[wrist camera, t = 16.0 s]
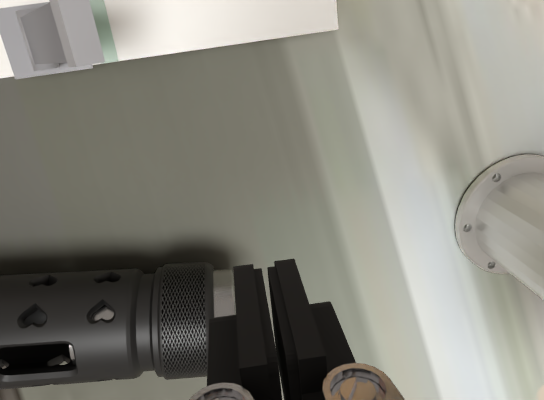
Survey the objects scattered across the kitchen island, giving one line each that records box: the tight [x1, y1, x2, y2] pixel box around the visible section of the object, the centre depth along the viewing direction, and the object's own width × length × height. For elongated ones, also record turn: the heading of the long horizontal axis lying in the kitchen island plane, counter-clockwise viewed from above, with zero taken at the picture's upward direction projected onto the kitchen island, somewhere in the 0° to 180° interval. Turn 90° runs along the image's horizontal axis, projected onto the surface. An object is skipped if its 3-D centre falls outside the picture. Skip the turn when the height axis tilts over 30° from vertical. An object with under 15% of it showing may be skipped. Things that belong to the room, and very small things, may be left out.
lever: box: [15, 0, 105, 71], centre depth 25 cm, size 2×4×11 cm
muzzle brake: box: [0, 262, 236, 389], centre depth 38 cm, size 10×28×10 cm, turn 89°
